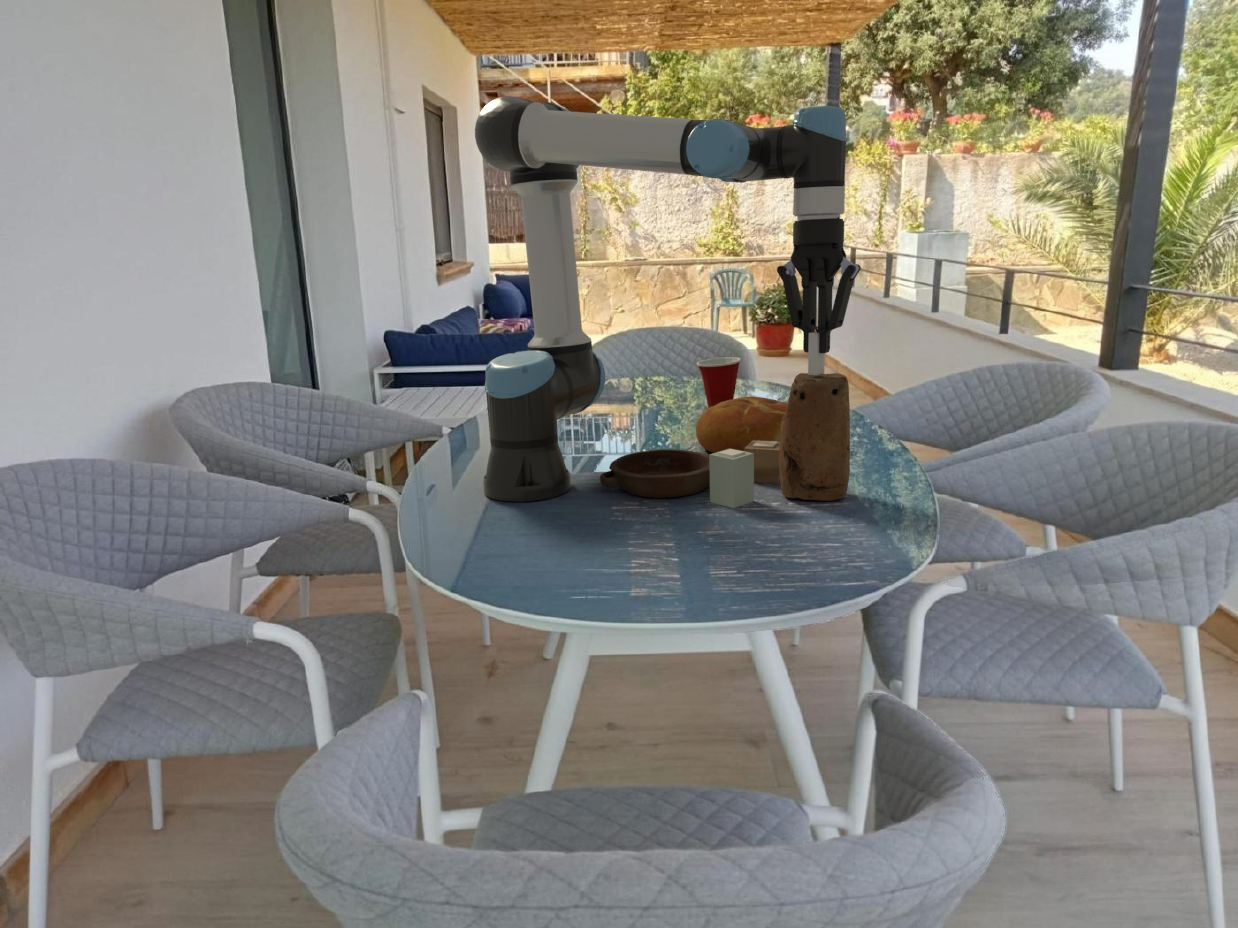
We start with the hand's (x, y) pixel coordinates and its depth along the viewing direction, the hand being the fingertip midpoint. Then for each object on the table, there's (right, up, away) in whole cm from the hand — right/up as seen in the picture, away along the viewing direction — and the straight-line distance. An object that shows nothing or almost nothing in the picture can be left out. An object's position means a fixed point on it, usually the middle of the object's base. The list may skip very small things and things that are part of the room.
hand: (816, 373), depth 137 cm
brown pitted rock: (+1, -20, +5) cm, 20 cm away
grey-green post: (-13, -20, +4) cm, 24 cm away
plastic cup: (-6, -1, +78) cm, 78 cm away
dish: (-23, -19, +14) cm, 33 cm away
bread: (-4, -11, +38) cm, 40 cm away
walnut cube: (-5, -17, +17) cm, 24 cm away
